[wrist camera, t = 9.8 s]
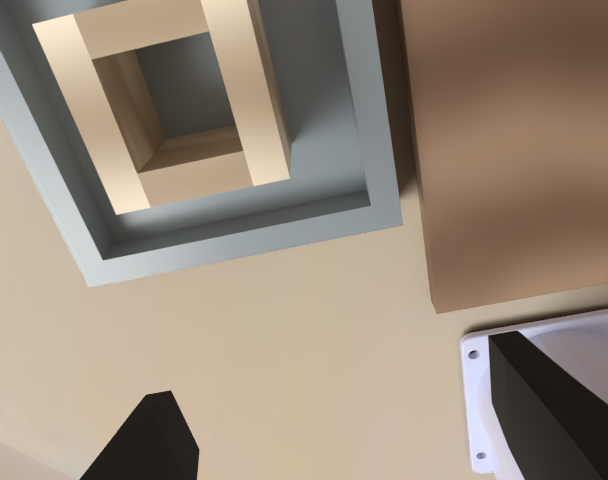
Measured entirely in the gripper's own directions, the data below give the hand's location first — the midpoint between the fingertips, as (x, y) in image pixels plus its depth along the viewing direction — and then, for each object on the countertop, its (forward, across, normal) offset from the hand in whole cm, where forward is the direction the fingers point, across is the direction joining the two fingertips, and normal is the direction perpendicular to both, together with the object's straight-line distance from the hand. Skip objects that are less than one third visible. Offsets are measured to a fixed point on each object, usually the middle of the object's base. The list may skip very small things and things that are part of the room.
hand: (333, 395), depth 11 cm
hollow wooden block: (+9, +3, -6) cm, 11 cm away
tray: (+9, +3, -6) cm, 12 cm away
